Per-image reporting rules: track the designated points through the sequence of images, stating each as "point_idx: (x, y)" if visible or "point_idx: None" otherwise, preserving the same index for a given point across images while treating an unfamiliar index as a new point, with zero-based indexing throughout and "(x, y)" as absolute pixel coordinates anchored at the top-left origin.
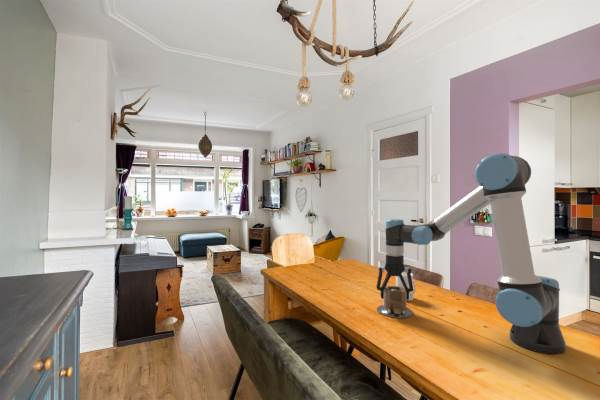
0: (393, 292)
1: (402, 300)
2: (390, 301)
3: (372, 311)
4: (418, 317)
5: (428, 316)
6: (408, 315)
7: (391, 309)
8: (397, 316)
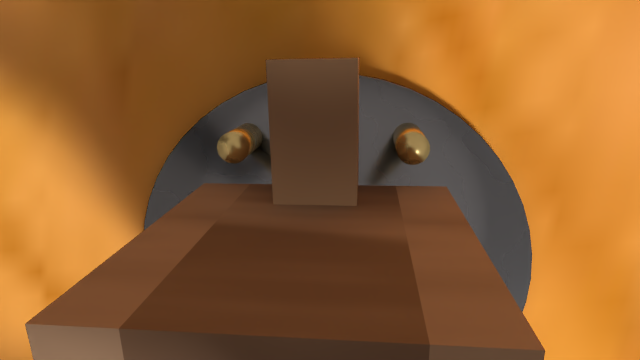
0: (340, 320)
1: (195, 234)
2: (400, 227)
3: (589, 237)
4: (99, 125)
5: (4, 166)
6: (194, 137)
7: (379, 186)
8: None
